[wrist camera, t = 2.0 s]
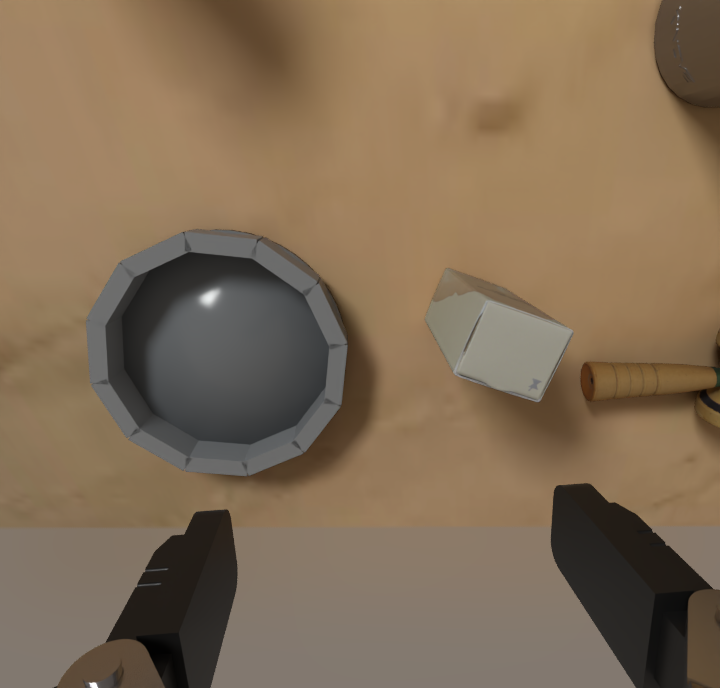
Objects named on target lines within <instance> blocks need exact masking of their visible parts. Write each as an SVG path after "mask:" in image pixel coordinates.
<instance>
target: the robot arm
mask: <svg viewBox="0 0 720 688" xmlns="http://www.w3.org/2000/svg"><path fill="white" fill-rule="evenodd" d="M654 46H655V55H656V61H657V64H658V67H659V70H660V73H661V75H662V77H663V78H664V80H665V82H666V83H667V85H668V87H669V88H670V89H671V90H672V91H673V92H674V93H675V94H676V95H677V96H678V97H680V98H682V99H684V100H685V101H687V102H689V103H691V104H694V105H698V106H702V107H720V0H663V1H662V3H661V5H660V9H659V13H658V16H657V20H656V25H655V37H654ZM551 547H552V552H553V556H554V559H555V562H556V564H557V566H558V568H559V569H560V571H561V573H562V574H563V575H564V577H565V579H566V580H567V582H568V583H569V585H570V586H571V588H572V590H573V591H574V593H575V594H576V595H577V597H578V599H579V600H580V602H581V603H582V605H583V606H584V608H585V610H586V611H587V612H588V614H589V616H590V617H591V619H592V620H593V622H594V623H595V625H596V627H597V628H598V630H599V631H600V632H601V634H602V636H603V637H604V639H605V640H606V642H607V643H608V645H609V647H610V648H611V650H612V651H613V653H614V654H615V656H616V657H617V659H618V660H619V662H620V663H621V665H622V666H623V668H624V670H625V671H626V673H627V674H628V676H629V677H630V679H631V680H632V682H633V684H634V685H635V687H636V688H720V590H715V589H713V588H712V587H711V586H710V585H709V584H708V583H707V582H706V581H704V579H703V578H702V577H701V576H699V575H698V574H697V573H696V572H695V571H694V570H693V569H692V568H691V567H690V566H689V565H688V564H687V563H686V562H685V561H684V560H683V559H682V558H681V557H680V556H679V555H678V554H677V553H676V552H675V551H674V550H673V549H672V548H671V547H670V546H666V545H665V542H664V541H663V540H662V539H661V538H660V537H659V536H658V535H657V534H656V533H653V532H652V529H651V528H650V527H649V526H648V525H647V524H646V523H645V522H644V521H643V520H642V519H641V518H640V517H639V516H637V515H636V514H635V513H633V512H631V511H629V510H627V509H626V508H624V507H622V506H620V505H619V504H617V503H615V502H614V503H609V502H608V501H607V500H606V499H605V498H604V497H603V496H602V495H601V494H600V493H599V492H598V491H597V490H596V489H595V488H594V487H593V486H592V485H591V484H588V483H584V484H571V485H559V486H556V488H555V490H554V496H553V512H552V529H551ZM145 570H146V571H145V572H144V573H143V574H142V576H141V578H140V580H139V582H138V585H137V587H136V588H135V589H134V591H133V593H132V595H131V596H130V598H129V600H128V602H127V604H126V606H125V608H124V610H123V611H122V613H121V615H120V617H119V619H118V620H117V622H116V624H115V626H114V628H113V630H112V632H111V633H110V635H109V637H108V639H107V641H106V643H104V644H102V645H100V646H98V647H95V648H94V649H92V650H90V651H89V652H87V653H85V654H84V655H83V656H81V657H80V658H79V659H78V660H77V661H76V662H74V663H73V664H72V665H71V666H70V668H69V669H68V670H67V671H66V673H65V674H64V675H63V677H62V678H61V680H60V682H59V684H58V686H56V687H54V688H210V687H211V683H212V680H213V675H214V672H215V668H216V665H217V661H218V657H219V653H220V649H221V646H222V642H223V638H224V634H225V631H226V627H227V623H228V619H229V615H230V612H231V608H232V604H233V600H234V597H235V592H236V587H237V560H236V553H235V545H234V538H233V530H232V523H231V516H230V513H229V511H228V510H214V511H200V512H196V513H195V514H194V515H193V517H192V520H191V522H190V524H189V526H188V528H187V530H186V532H185V534H184V535H174V536H171V537H170V538H169V539H168V540H167V541H166V542H165V543H164V544H162V545H161V546H160V547H159V548H158V549H157V550H156V551H155V552H154V554H153V556H152V558H151V560H150V562H149V564H148V565H147V567H146V569H145Z"/></svg>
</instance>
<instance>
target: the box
mask: <svg viewBox="0 0 720 688" xmlns="http://www.w3.org/2000/svg"><path fill="white" fill-rule="evenodd" d="M425 321H426V323H427V325H428V327H429V329H430V330H431V332H432V334H433V336H434V338H435V340H436V341H437V343H438V345H439V347H440V349H441V351H442V353H443V354H444V356H445V358H446V360H447V362H448V364H449V365H450V367H451V369H452V371H453V373H454V374H455V375H456V376H458V377H461V378H464V379H467V380H469V381H472V382H475V383H478V384H481V385H484V386H487V387H490V388H493V389H496V390H499V391H503V392H506V393H509V394H512V395H515V396H519V397H522V398H525V399H528V400H532V401H535V402H540V400H541V399H542V396H543V395H544V393H545V391H546V389H547V387H548V385H549V383H550V381H551V379H552V377H553V375H554V373H555V371H556V369H557V367H558V365H559V363H560V361H561V359H562V357H563V355H564V353H565V351H566V348H567V346H568V344H569V342H570V340H571V338H572V336H573V330H571V329H570V328H568V327H566V326H565V325H563V324H561V323H560V322H558V321H557V320H555V319H553V318H552V317H550V316H549V315H547V314H545V313H544V312H542V311H541V310H539V309H537V308H536V307H534V306H533V305H531V304H530V303H528V302H526V301H525V300H523V299H521V298H520V297H518V296H517V295H515V294H514V293H512V292H511V291H509V290H507V289H505V288H503V287H500V286H497V285H495V284H492V283H489V282H486V281H484V280H481V279H478V278H476V277H473V276H470V275H467V274H464V273H461V272H459V271H456V270H453V269H450V268H446V270H445V272H444V274H443V276H442V278H441V280H440V283H439V285H438V287H437V289H436V292H435V294H434V297H433V299H432V302H431V304H430V306H429V309H428V312H427V314H426V317H425Z"/></svg>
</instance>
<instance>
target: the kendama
mask: <svg viewBox="0 0 720 688" xmlns="http://www.w3.org/2000/svg"><path fill="white" fill-rule="evenodd" d="M716 343H717V345H718V346H719V347H720V330H719V332H718V334H717V337H716ZM581 387H582V391H583V394H584V396H585V398H586V399H587V400H588V401H590V402H591V401H601V400H609V399H619V398H630V397H638V396H639V397H641V396H651V395H666V394H675V393H684V392H691V391H697V390H700V391H699V392H698V394H697V397H696V402H695V406H694V407H695V410H696V413H697V414H698V415H699V416H700V417H701V418H702V419H703V420H705V421H706V422H708V423H710V424H712V425H714V426H716V427H718V428H720V368H716V367H707V366H695V365H683V364H662V363H660V364H659V363H652V364H648V363H636V364H635V363H606V362H585V363H584V364H583V367H582V369H581Z"/></svg>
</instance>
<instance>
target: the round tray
mask: <svg viewBox="0 0 720 688" xmlns="http://www.w3.org/2000/svg"><path fill="white" fill-rule="evenodd" d="M87 319H88V320H86V328H87V343H88V357H89V372H90V383H93V384H92V385H91V386H92V388H93V389H94V390H95V392H96V393H97V395H98V396H99V398H100V399H101V401H102V402H103V404H104V405H105V407H106V408H107V410H108V411H109V413H110V414H111V416H112V417H113V419H114V420H115V422H116V423H117V425H118V426H119V428H120V429H121V430H122V432H123V433H124V435H125V436H126V438H128V437H130V438H129V439H128V440H130V441H132V442H133V443H135V444H137V445H139V446H140V447H142V448H144V449H146V450H148V451H149V452H151V453H153V454H155V455H156V456H158V457H160V458H162V459H163V460H165V461H167V462H169V463H170V464H172V465H174V466H176V467H177V468H179V469H181V470H183V471H184V469H185V471H186V472H199V473H212V474H225V475H238V476H247V474H248V475H249V476H250V475H252V474H255V473H257V472H260V471H262V470H264V469H267V468H269V467H272V466H274V465H277V464H279V463H282V462H284V461H286V460H289V459H291V458H294V457H296V456H299V455H301V454H303V453H304V452H306V450H307V449H308V448H309V447H310V445H311V444H312V443H313V441H314V440H315V439H316V438H317V436H318V435H319V434H320V433H321V431H322V430H323V429H324V427H325V426H326V425H327V424H328V422H329V421H330V420H331V418H332V417H333V416H334V415H335V413H336V412H337V411H338V410H339V408H340V407H341V403H342V394H343V385H344V375H345V366H346V356H347V347H348V335H347V331H346V329H345V327H344V325H343V321H342V317H341V314H340V312H339V309H338V307H337V304H336V302H335V300H334V298H333V296H332V295H331V293H330V291H329V289H328V288H327V286H326V285H325V284H324V282H323V280H322V278H321V277H319V275H318V274H317V273H316V272H315V271H314V270H313V269H312V268H311V267H310V266H309V265H308V264H307V263H306V262H304V261H303V260H302V259H301V258H299V257H298V256H297V255H296V254H294V253H293V252H291V251H290V250H288V249H286V248H285V247H283V246H282V245H280V244H277V243H275V242H273V241H271V240H269V239H268V238H266V237H263V236H258V235H254V234H251V233H247V232H241V231H235V230H218V229H215V230H202V229H193V230H189V231H185V232H182V233H179V234H177V235H175V236H173V237H171V238H169V239H167V240H165V241H163V242H160V243H158V244H156V245H154V246H152V247H150V248H148V249H146V250H144V251H141V252H139V253H137V254H135V255H133V256H131V257H129V258H127V259H124V260H122V261H120V263H118V265H117V267H116V268H115V270H114V272H113V274H112V275H111V277H110V279H109V280H108V282H107V284H106V286H105V287H104V289H103V291H102V293H101V294H100V296H99V298H98V299H97V301H96V303H95V305H94V306H93V308H92V310H91V311H90V313H89V315H88V317H87Z"/></svg>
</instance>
